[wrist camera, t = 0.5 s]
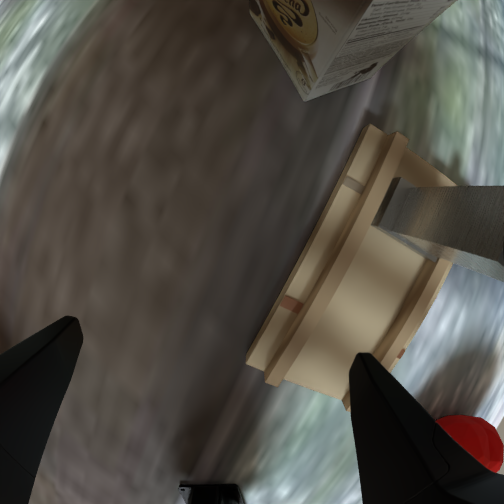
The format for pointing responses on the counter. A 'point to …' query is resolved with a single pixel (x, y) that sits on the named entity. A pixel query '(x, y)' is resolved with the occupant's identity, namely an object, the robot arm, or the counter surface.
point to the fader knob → (447, 223)
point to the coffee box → (339, 37)
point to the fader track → (352, 279)
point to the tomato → (475, 438)
